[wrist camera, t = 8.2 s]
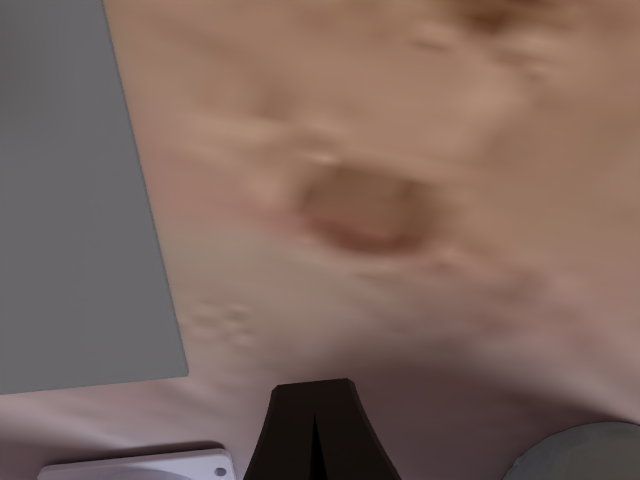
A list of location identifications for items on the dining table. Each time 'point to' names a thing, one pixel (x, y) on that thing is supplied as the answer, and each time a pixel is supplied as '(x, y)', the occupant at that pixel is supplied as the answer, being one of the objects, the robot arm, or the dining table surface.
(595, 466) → the drinking glass
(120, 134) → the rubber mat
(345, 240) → the dining table surface
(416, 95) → the dining table surface
